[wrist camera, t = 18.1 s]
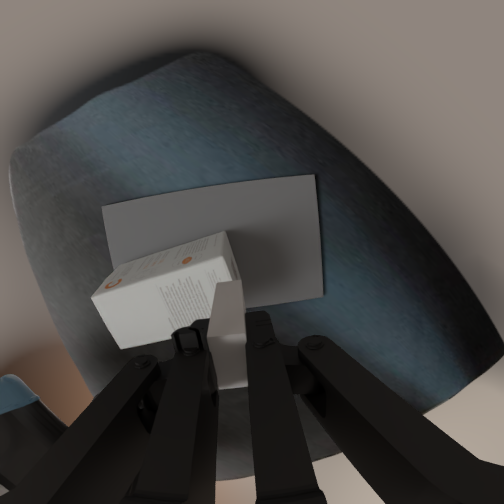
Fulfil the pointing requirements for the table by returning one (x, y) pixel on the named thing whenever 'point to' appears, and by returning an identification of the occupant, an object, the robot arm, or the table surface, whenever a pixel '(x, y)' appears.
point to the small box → (164, 290)
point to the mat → (233, 232)
